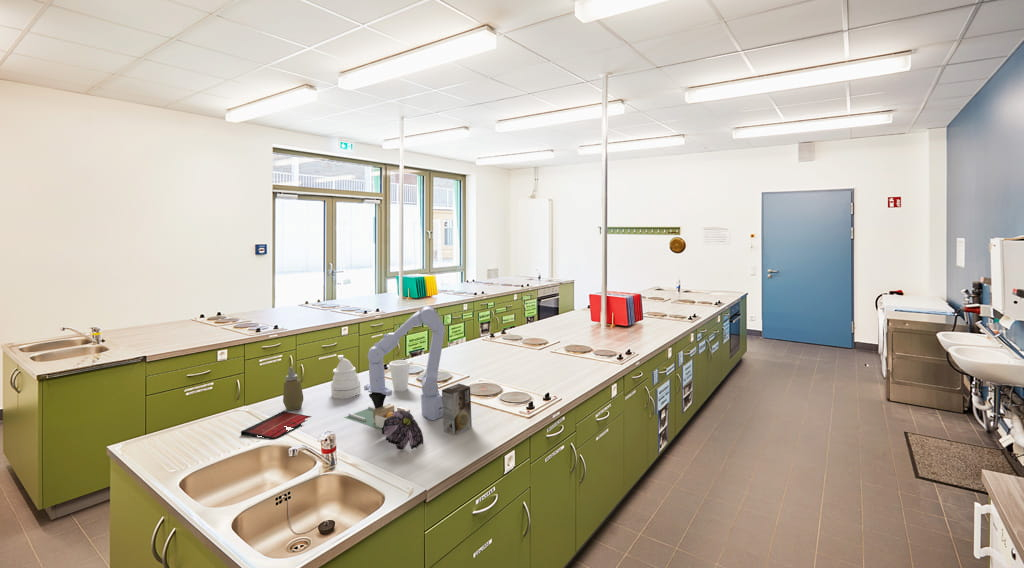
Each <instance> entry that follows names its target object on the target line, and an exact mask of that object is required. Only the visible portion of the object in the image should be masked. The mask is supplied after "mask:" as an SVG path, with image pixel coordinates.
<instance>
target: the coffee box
mask: <svg viewBox="0 0 1024 568" xmlns="http://www.w3.org/2000/svg"><path fill="white" fill-rule="evenodd" d="M441 396H442V403H443V416H442V427H443V432H444V433H447V434H449V435H453V436H457V435H460V434H461V433H464V432H465V431H467V430H469V429H471V428H472V427H473V424H472V402H471V400H472V399H471V386H468V385H465V384H462V383H457V384H454V385H451V386H449V387H446V388H442V389H441Z"/></svg>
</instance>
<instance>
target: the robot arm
mask: <svg viewBox="0 0 1024 568" xmlns="http://www.w3.org/2000/svg"><path fill="white" fill-rule="evenodd" d="M423 324H424V325H425V326H427V327H428V328H429V329H430V330H431V331H432V334H431V340H430V347H429V352H428V357H427V363H426V369H425V372H424V376H423V377H422V379H421V382H420V383H421V392H420V402H421V403H420V404H421V415H422V416H423V417H425V419H427V420H430V421H436V420H439V419H441V418H443V403H442V394H440V390H439V385H438V379H439V378H438V374H439V366H440V360H441V355H442V349H443V344H444V338H445V332H446V328H445V325H444V323H443V321H442V319H441V318H440V315H439V313H438V311H436V310H435V309H434V307H433V306H430V305H425V306H423V307H422V308H421V309H420V310H417V311H416V312H415V313H413V314H412V315H411V316H410V317H409V318H408V319H407V320H405V321H404V322H403V324H401V325H400V326H399V327H398V329H396V330H395V331H394V332H388V333H384V334H383V338H381V339H380V340H379V341H378V342H375V343H374V344H373V346H371V347H370V348H369V350H368V353H367V359H368V365H369V366H368V371H369V372H368V374H369V384H364V385H363V390H364V391H368V393H369V394H368V396H369V398H370V400H371V401H372V404H373V407H375V409H377V408H380V407H382V406H384V403H385V400H386V397H391V396H392V395H393V390H392V389H390V388H389V387H387V386H386V378H385V365H384V356H385V355H387V354H389V353H390V352H391V351H393V350H394V349H395V348H396V347H397V346H398V345H400V339H402V337H403V336H404V335H405V334H407V333H408V332H409V331H411V330H412V329H413V328H414V327H418V326H423Z"/></svg>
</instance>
